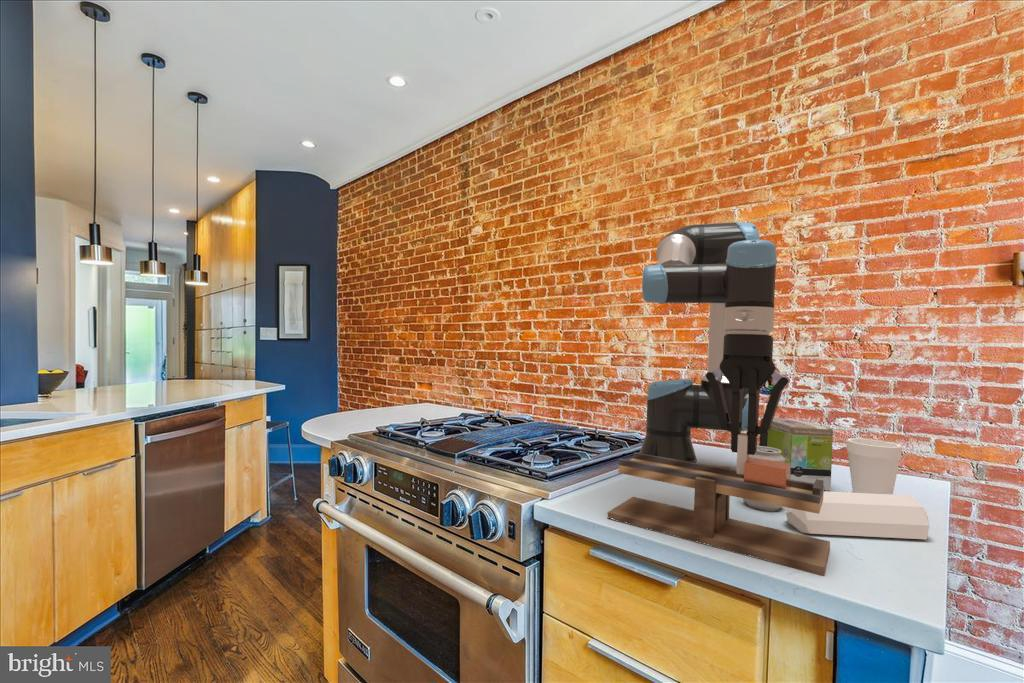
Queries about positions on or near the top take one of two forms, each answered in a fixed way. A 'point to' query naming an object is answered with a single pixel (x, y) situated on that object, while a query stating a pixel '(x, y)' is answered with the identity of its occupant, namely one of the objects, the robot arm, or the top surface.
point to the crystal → (864, 516)
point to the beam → (724, 481)
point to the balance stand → (725, 529)
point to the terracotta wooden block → (767, 473)
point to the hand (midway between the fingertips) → (742, 472)
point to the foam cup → (873, 465)
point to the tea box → (802, 448)
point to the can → (772, 455)
